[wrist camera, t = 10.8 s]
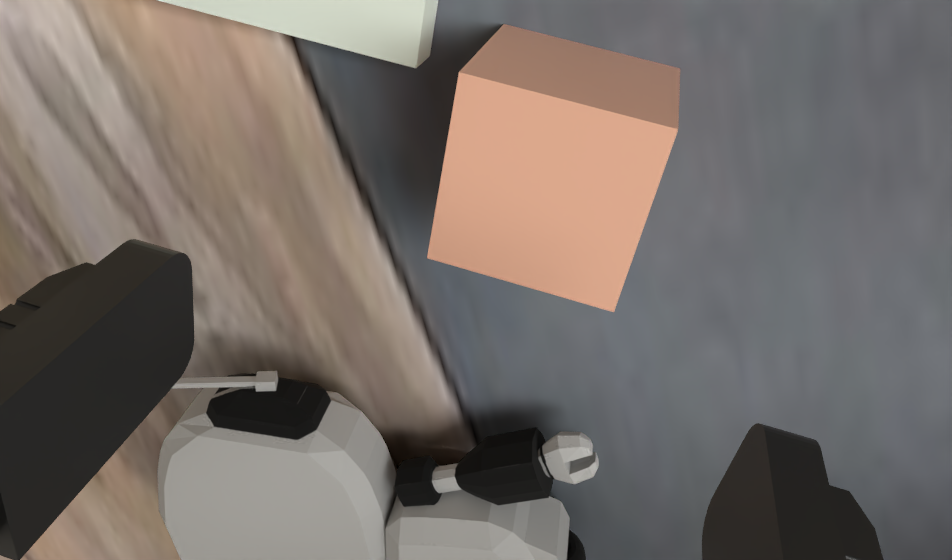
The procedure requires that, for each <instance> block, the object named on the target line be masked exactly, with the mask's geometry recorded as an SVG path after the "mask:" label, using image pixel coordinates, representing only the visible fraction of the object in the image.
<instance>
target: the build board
mask: <svg viewBox="0 0 952 560" xmlns="http://www.w3.org/2000/svg"><path fill="white" fill-rule="evenodd" d="M158 1H162V2H166V3H169V4H173V5H177V6H181V7H185V8H188V9H192V10H196V11H200V12H204V13H207V14H211V15H215V16H219V17H223V18H226V19H230V20H234V21H238V22H242V23H245V24H249V25H253V26H257V27H261V28H264V29H268V30H272V31H276V32H280V33H283V34H287V35H291V36H295V37H299V38H302V39H306V40H310V41H314V42H318V43H321V44H325V45H329V46H333V47H337V48H340V49H344V50H348V51H352V52H356V53H359V54H363V55H367V56H371V57H375V58H378V59H382V60H386V61H390V62H394V63H397V64H401V65H405V66H409V67H413V68H417V67H418V66H419V65H420V64H422V63H423V62H424V61H425V60H426V59H427V58H428V57H429V56H430V52H431V46H432V39H433V32H434V25H435V19H436V12H437V5H438V0H158Z"/></svg>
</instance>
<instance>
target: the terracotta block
mask: <svg viewBox="0 0 952 560" xmlns="http://www.w3.org/2000/svg"><path fill="white" fill-rule="evenodd" d="M679 90H680V68H676V67H672V66H668V65H664V64H660V63H656V62H652V61H648V60H644V59H640V58H636V57H632V56H629V55H625V54H621V53H617V52H613V51H609V50H605V49H601V48H597V47H593V46H589V45H585V44H581V43H577V42H573V41H569V40H565V39H561V38H557V37H553V36H549V35H545V34H542V33H538V32H534V31H530V30H526V29H522V28H518V27H514V26H510V25H506V24H503V25H502V27H501V28H500V29H499V30H498V31H497V32H496V33H495V34H494V35H493V36H492V37H491V38H490V39H489V40H488V42H487V43H486V44H485V45H484V46H483V47H482V48H481V49H480V50H479V51H478V52H477V53H476V54H475V55H474V56H473V58H472V59H471V60H470V61H469V62H468V63H467V64H466V65H465V66H464V67H463V68H462V69H461V70H460V71H459V75H458V81H457V86H456V92H455V98H454V104H453V110H452V116H451V121H450V127H449V133H448V139H447V145H446V151H445V156H444V162H443V168H442V174H441V180H440V186H439V191H438V197H437V203H436V209H435V215H434V221H433V226H432V232H431V238H430V244H429V250H428V256H427V258H429V259H432V260H436V261H439V262H442V263H446V264H449V265H453V266H456V267H460V268H463V269H467V270H470V271H474V272H477V273H480V274H484V275H487V276H491V277H494V278H498V279H501V280H505V281H508V282H512V283H515V284H518V285H522V286H525V287H529V288H532V289H536V290H539V291H543V292H546V293H550V294H553V295H556V296H560V297H563V298H567V299H570V300H574V301H577V302H581V303H584V304H588V305H591V306H594V307H598V308H601V309H605V310H608V311H612V312H614V310H615V307H616V305H617V302H618V299H619V296H620V293H621V290H622V288H623V285H624V282H625V279H626V276H627V273H628V270H629V268H630V265H631V262H632V259H633V256H634V253H635V251H636V248H637V245H638V242H639V239H640V236H641V234H642V231H643V228H644V225H645V222H646V219H647V217H648V214H649V211H650V208H651V205H652V202H653V199H654V197H655V194H656V191H657V188H658V185H659V182H660V180H661V177H662V174H663V171H664V168H665V165H666V163H667V160H668V157H669V154H670V151H671V148H672V145H673V143H674V140H675V137H676V134H677V131H678V120H679Z"/></svg>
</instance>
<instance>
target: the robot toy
mask: <svg viewBox="0 0 952 560" xmlns="http://www.w3.org/2000/svg"><path fill="white" fill-rule="evenodd" d="M176 388H203V389H202V391H201V392H200V393H199V394H198V396H197V397H196V398H195V399H194V400H193V402H192V403H191V404H190V406H189V407H188V408H187V410H186V411H185V412H184V414H183V415H182V416H181V418H180V419H179V421H178V422H177V423H176V425H175V426H174V427H173V429H172V430H171V431H170V433H169V434H168V435H167V437H166V438H165V439H164V442H163V444H162V447H161V450H160V456H159V463H158V471H157V474H158V498H159V512H160V514H161V517H162V519H163V521H164V523H165V525H166V528H167V530H168V532H169V534H170V536H171V539H172V541H173V543H174V545H175V548H176V550H177V552H178V554H179V556H180V559H181V560H586V557H585V551H584V547H583V544H582V543H581V541H580V540H579V538H578V537H577V535H575V534H574V533H573V532H571V531H570V530H569V522H570V518H569V516H568V514H567V512H566V510H565V508H564V506H563V504H562V502H561V501H559V500H557V499H554V498H552V497H550V496H549V495H550V491H551V488H552V484H553V479H556V480H560V481H564V482H568V483H571V484H577V483H579V482H582V481H584V480H587V479H589V478H592V477H594V475H595V473H596V471H597V469H598V467H599V460H598V456H597V454H596V452H592V449H593V444H592V442H591V439H590V438H589V437H587V436H586V435H585V434H583V433H582V432H559V433H558V434H556V435H555V436H554V437H552V438H551V439H549V440H548V441H547V442H545V439H544V437H543V435H542V434H541V432H540V431H539V430H538V428H531V429H526V430H521V431H515V432H510V433H505V434H499V435H494V436H489V437H487V438H486V439H485V440H483V441H482V442H481V443H480V444H479V445H477V446H476V447H475V448H474V449H473V450H471V451H470V452H469V453H468V454H467V455H466V456H465V457H464V458H463V459H462V460H461V461H460V462H459V463H456V464H450V465H445V466H439V465H438V464H437V463H436V462H435V461H434V460H433V459H432V458H431V457H430V456H425V457H420V458H414V459H409V460H403V462H402V463H401V465H400V466H399V468H398V469H397V473H396V470H395V467H394V464H393V461H392V459H391V456H390V453H389V451H388V448H387V445H386V443H385V442H384V440H383V438H382V436H381V434H380V432H379V431H378V430H377V429H376V428H375V427H374V425H373V424H372V423H371V422H370V421H369V419H368V418H367V417H366V416H365V415H364V414H363V412H362V411H361V410H359V409H358V408H357V407H355V406H354V405H353V404H352V403H350V402H349V401H348V400H346V399H345V398H344V397H343V396H341V395H340V394H339V393H337V392H331V391H326V390H325V389H323V388H322V387H320V386H319V385H318V384H313V383H307V382H301V381H297V380H291V379H285V378H278V374H277V371H257V374H246V373H245V374H237V375H229V376H227V377H194V378H180V379H179V380H178V381H177V382H176V384H175V385H174V386H173V387H172V388H171V389H176Z"/></svg>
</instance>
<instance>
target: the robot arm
mask: <svg viewBox="0 0 952 560" xmlns="http://www.w3.org/2000/svg"><path fill="white" fill-rule="evenodd" d="M193 346H194V315H193V286H192V266H191V261H190V259H189V257H188V256H187V255H186V254H184V253H181V252H177V251H174V250H171V249H167V248H164V247H160V246H157V245H154V244H150V243H147V242H143V241H140V240H136V239H133V240H129V241H126V242H125V243H123V244H122V245H121V246H119V247H118V248H117V249H115V250H114V251H113V252H112V253H110V254H109V255H108V256H106V257H105V258H104V259H102V260H101V261H100V262H99V263H97V264H96V265H93V264H90V263H87V262H86V263H84V264H81V265H78V266H76V267H73V268H70V269H68V270H65V271H62V272H60V273H57V274H54V275H52V276H49V277H47V278H45V279H44V280H43V281H41V282H40V283H38V284H37V285H36V286H34V287H33V288H32V289H30V290H29V291H28V292H26V293H25V294H23V295H22V296H21V297H19V298H18V299H17V301H16V304H15V305H12V304H10V305H8V306H7V307H6V308H4V309H3V310H2V311H0V555H1V556H4V557H7V558H10V559H13V560H20V559H21V558H22V557H23V556H24V554H25V553H26V552H27V551H28V550H29V549H30V548H31V547H32V545H33V544H34V543H35V542H36V541H37V540H38V539H39V537H40V536H41V535H42V534H43V533H44V532H45V531H46V530H47V528H48V527H49V526H50V525H51V524H52V523H53V522H54V520H55V519H56V518H57V517H58V516H59V515H60V514H61V513H62V511H63V510H64V509H65V508H66V507H67V506H68V505H69V504H70V502H71V501H72V500H73V499H74V498H75V497H76V496H77V494H78V493H79V492H80V491H81V490H82V489H83V488H84V487H85V485H86V484H87V483H88V482H89V481H90V480H91V479H92V477H93V476H94V475H95V474H96V473H97V472H98V471H99V470H100V468H101V467H102V466H103V465H104V464H105V463H106V462H107V461H108V459H109V458H110V457H111V456H112V455H113V454H114V453H115V451H116V450H117V449H118V448H119V447H120V446H121V445H122V444H123V442H124V441H125V440H126V439H127V438H128V437H129V436H130V434H131V433H132V432H133V431H134V430H135V429H136V428H137V427H138V425H139V424H140V423H141V422H142V421H143V420H144V419H145V418H146V416H147V415H148V414H149V413H150V412H151V411H152V410H153V408H154V407H155V406H156V405H157V404H158V403H159V402H160V401H161V399H162V398H163V397H164V396H165V395H166V394H167V393H168V391H169V390H170V389H171V388H172V387H173V386H174V385H175V384H176V382H177V381H178V380H179V379H180V377H181V376H182V374H183V373H184V371H185V369H186V367H187V365H188V363H189V360H190V358H191V354H192V351H193ZM702 558H703V560H883V556H882V553H881V549H880V546H879V542H878V538H877V535H876V531H875V528H874V527H873V525H872V524H871V522H870V521H869V519H868V518H867V517H866V515H865V514H864V512H863V511H862V509H861V508H860V506H859V505H858V503H857V502H856V500H855V499H854V497H853V496H852V495H851V493H850V492H849V491H847V490H843V489H840V488H837V487H833V486H830V485H829V483H828V478H827V474H826V469H825V465H824V461H823V456H822V452H821V448H820V446H819V444H818V442H817V441H816V440H814V439H811V438H807V437H804V436H800V435H797V434H794V433H790V432H787V431H783V430H780V429H776V428H773V427H770V426H766V425H763V424H759V423H758V424H755V425H754V426H752V427H751V429H750V430H749V431H748V433H747V435H746V437H745V438H744V440H743V442H742V444H741V446H740V448H739V449H738V451H737V453H736V455H735V457H734V459H733V460H732V462H731V464H730V466H729V468H728V470H727V471H726V473H725V475H724V477H723V479H722V481H721V482H720V484H719V486H718V488H717V490H716V492H715V493H714V495H713V497H712V499H711V502H710V504H709V507H708V510H707V514H706V517H705V522H704V527H703V535H702Z"/></svg>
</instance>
